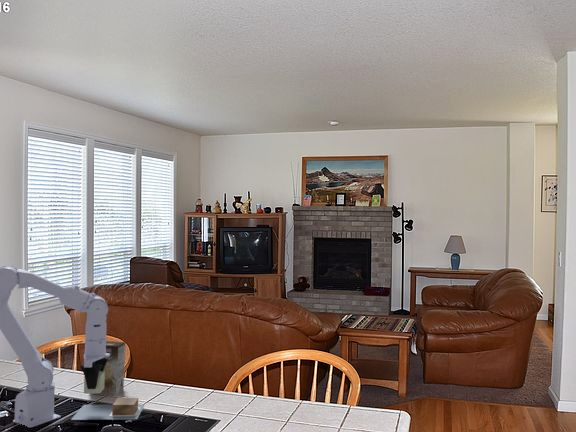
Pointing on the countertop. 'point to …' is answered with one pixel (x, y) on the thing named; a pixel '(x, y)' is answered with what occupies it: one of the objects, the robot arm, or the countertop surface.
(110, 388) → the coffee box
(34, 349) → the robot arm
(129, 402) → the walnut block
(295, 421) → the countertop surface
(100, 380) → the sage block
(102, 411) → the light blue flat board
